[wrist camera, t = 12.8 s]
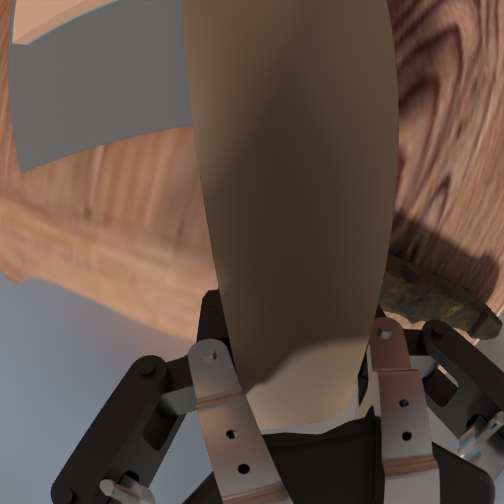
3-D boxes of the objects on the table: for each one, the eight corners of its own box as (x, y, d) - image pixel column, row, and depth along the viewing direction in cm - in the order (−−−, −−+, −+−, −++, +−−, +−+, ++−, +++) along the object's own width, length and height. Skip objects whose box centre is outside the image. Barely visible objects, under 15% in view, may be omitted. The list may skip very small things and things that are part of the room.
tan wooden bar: (308, -39, 6) (351, -106, 1) (319, 338, 14) (342, 417, 10) (200, -36, 6) (179, -109, 1) (246, 347, 14) (250, 430, 10)
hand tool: (323, 276, 17) (345, 327, 13) (356, 223, 16) (391, 266, 12) (464, 326, 22) (485, 357, 18) (487, 296, 20) (511, 326, 16)
